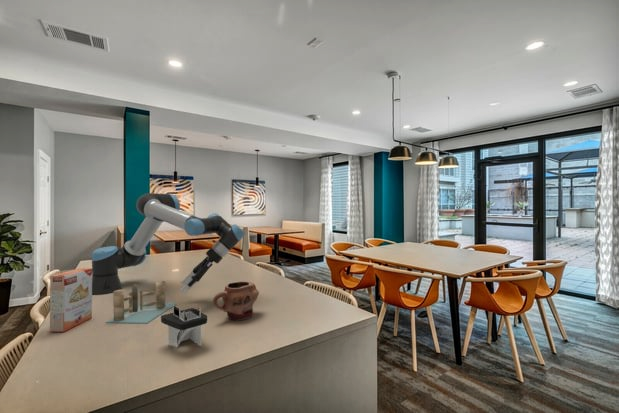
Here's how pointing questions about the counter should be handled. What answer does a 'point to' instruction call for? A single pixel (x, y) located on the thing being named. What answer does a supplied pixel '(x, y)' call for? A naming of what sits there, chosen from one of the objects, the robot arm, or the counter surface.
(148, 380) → the counter surface
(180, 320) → the black-topped pedestal
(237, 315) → the brown sculpted mug
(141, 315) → the card
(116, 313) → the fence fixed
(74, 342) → the counter surface
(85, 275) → the cracker box
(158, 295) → the fence panel
